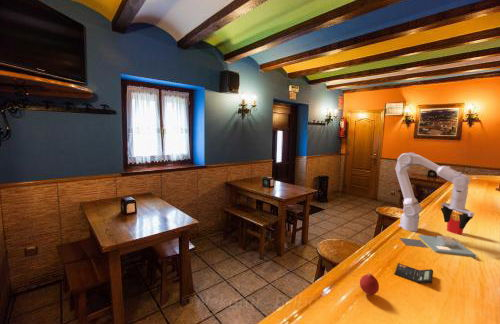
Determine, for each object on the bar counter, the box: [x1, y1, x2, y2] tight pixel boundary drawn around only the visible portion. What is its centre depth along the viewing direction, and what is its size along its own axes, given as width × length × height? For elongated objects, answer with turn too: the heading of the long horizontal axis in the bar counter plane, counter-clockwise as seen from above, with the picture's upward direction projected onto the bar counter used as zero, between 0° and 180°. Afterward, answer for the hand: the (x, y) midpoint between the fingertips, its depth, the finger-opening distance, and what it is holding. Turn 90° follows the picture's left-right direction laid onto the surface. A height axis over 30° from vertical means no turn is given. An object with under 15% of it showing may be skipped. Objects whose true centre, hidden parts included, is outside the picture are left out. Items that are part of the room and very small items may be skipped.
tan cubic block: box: [436, 235, 455, 247], centre depth 117 cm, size 5×5×5 cm
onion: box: [359, 272, 380, 296], centre depth 82 cm, size 6×6×8 cm
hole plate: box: [418, 234, 477, 260], centre depth 117 cm, size 16×16×2 cm
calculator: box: [393, 262, 434, 284], centre depth 94 cm, size 9×12×3 cm
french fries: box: [446, 210, 464, 236], centre depth 134 cm, size 8×4×12 cm, turn 34°
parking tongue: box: [398, 237, 429, 249], centre depth 119 cm, size 8×10×1 cm
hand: (453, 225), depth 120 cm, fingers open, 7 cm apart
